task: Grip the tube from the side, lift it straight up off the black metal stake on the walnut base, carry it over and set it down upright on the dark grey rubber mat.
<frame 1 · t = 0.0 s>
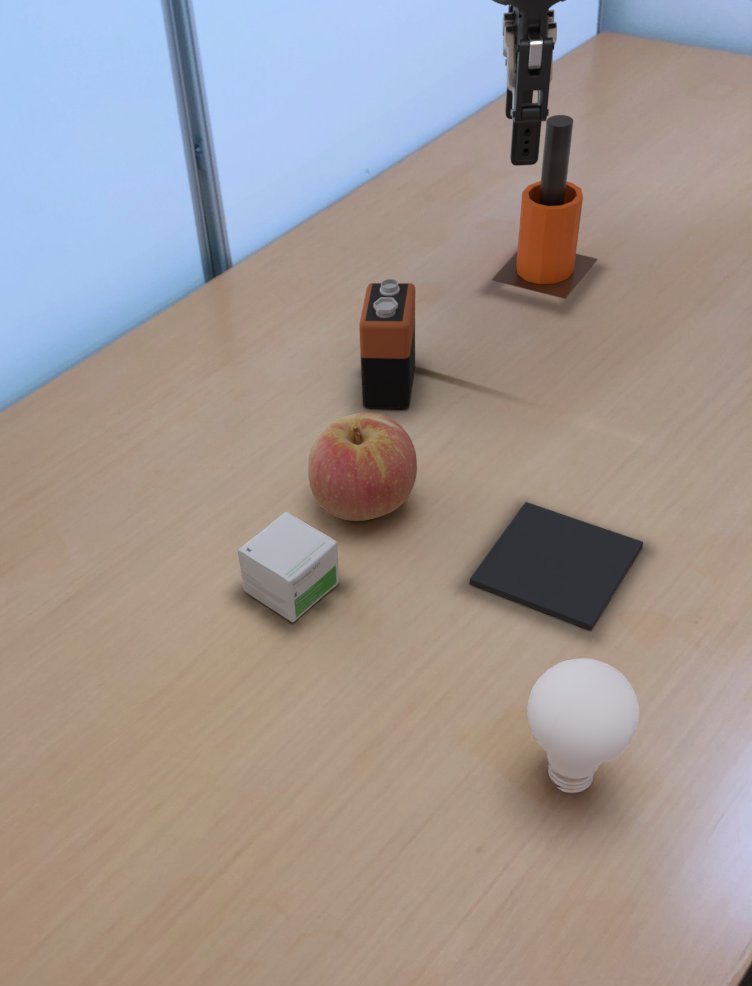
hand: (520, 139, 93), 19 cm above the table, tool pointing down, fingers open, 8 cm apart
tube: (544, 269, 112), point 1 cm above the table, touching stake
mat: (556, 565, 86), on the table
small box: (292, 589, 87), on the table
apple: (362, 506, 93), on the table
battery: (389, 389, 103), on the table
stake: (543, 278, 112), on the table
light bulb: (568, 782, 73), on the table
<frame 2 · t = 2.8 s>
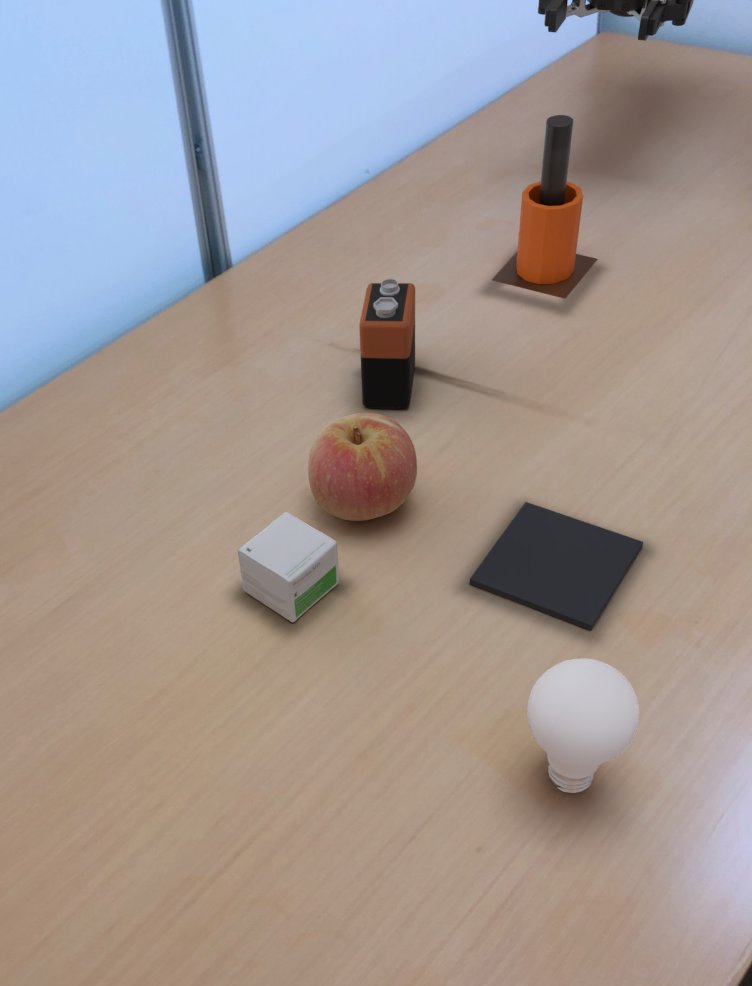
hand: (597, 25, 103), 20 cm above the table, tool horizontal, fingers open, 8 cm apart
nothing on the table moved.
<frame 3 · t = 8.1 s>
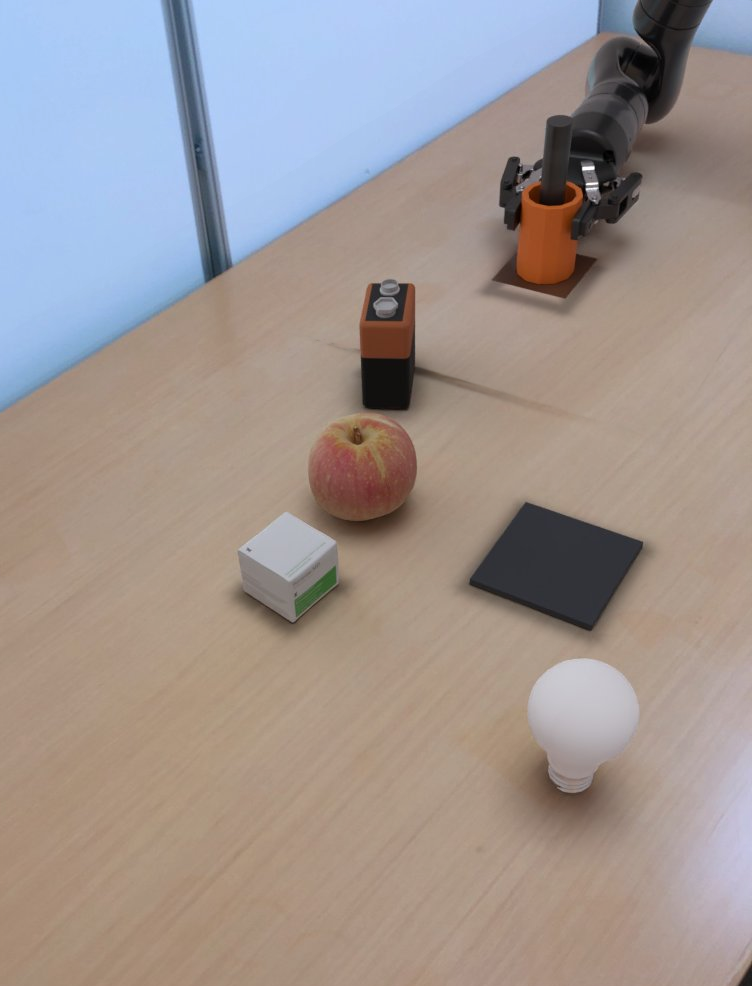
hand: (542, 226, 106), 7 cm above the table, tool horizontal, fingers closed on tube, 5 cm apart
tube: (544, 269, 112), point 1 cm above the table, touching gripper, stake
everything else where it was.
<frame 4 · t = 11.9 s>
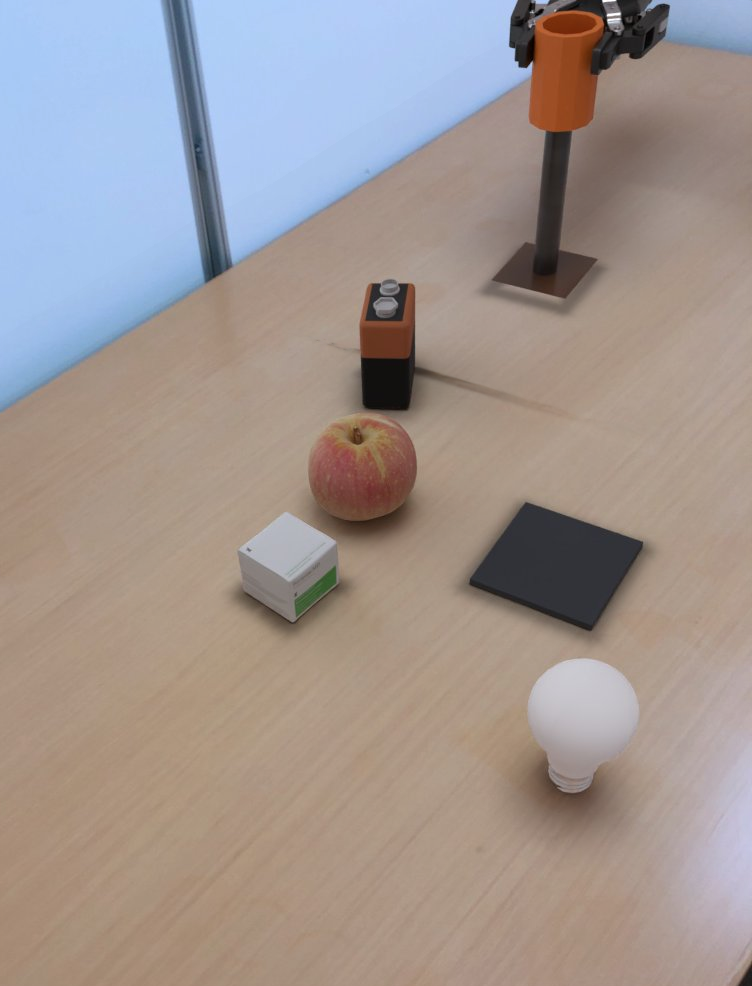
hand: (558, 59, 94), 22 cm above the table, tool horizontal, fingers closed on tube, 5 cm apart
tube: (560, 117, 100), point 16 cm above the table, touching gripper
everything else where it was.
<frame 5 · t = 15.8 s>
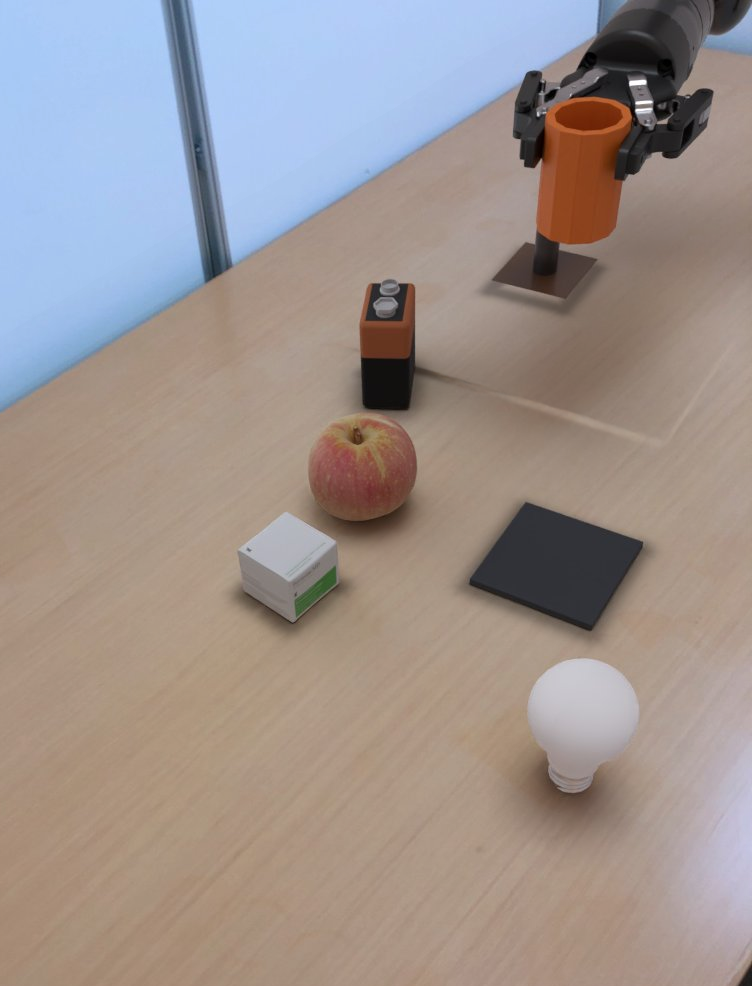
hand: (574, 160, 75), 26 cm above the table, tool horizontal, fingers closed on tube, 5 cm apart
tube: (575, 224, 81), point 20 cm above the table, touching gripper
everything else where it was.
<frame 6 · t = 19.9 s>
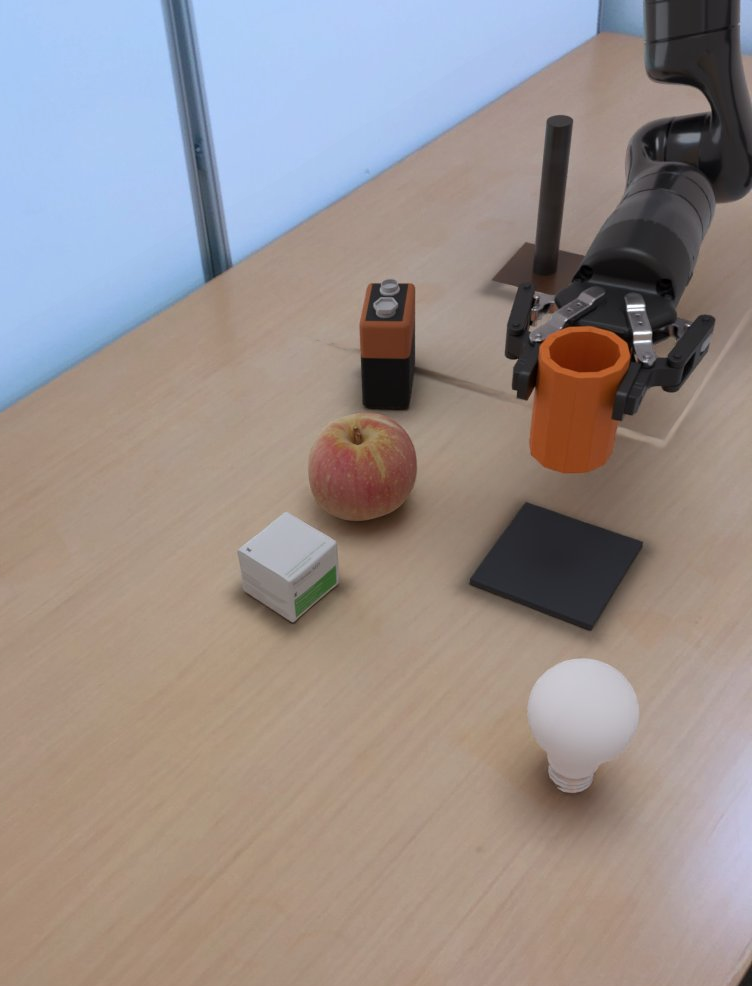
hand: (570, 398, 71), 18 cm above the table, tool horizontal, fingers closed on tube, 5 cm apart
tube: (570, 447, 77), point 12 cm above the table, touching gripper
everything else where it was.
when the fingers open (7 cm above the table, at t = 23.4 s): tube stays where it is, resting on mat.
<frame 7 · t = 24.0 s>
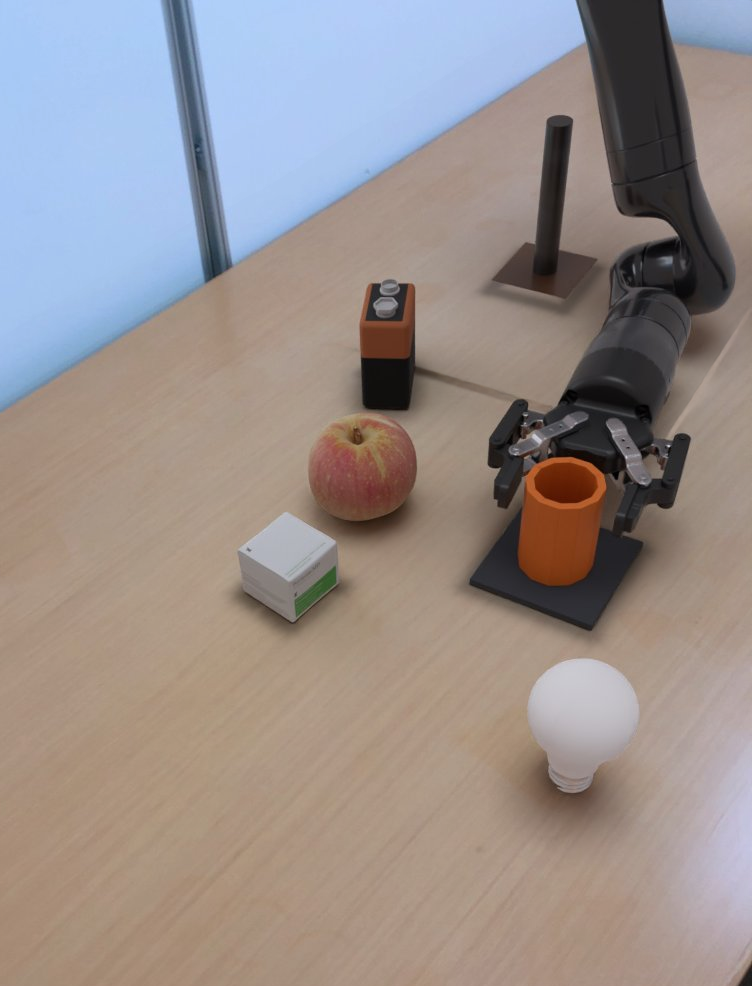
hand: (559, 514, 80), 7 cm above the table, tool horizontal, fingers open, 8 cm apart
tube: (554, 560, 86), point 1 cm above the table, touching mat
everything else where it was.
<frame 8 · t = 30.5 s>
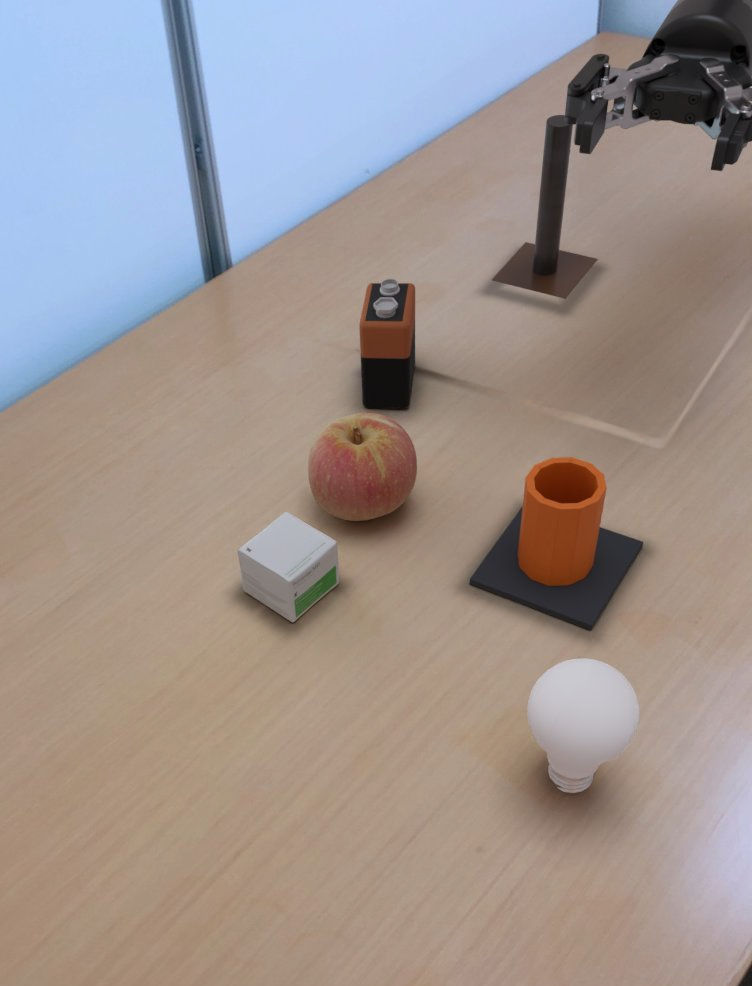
hand: (651, 148, 71), 28 cm above the table, tool horizontal, fingers open, 8 cm apart
nothing on the table moved.
at the end: tube inside the target area on the mat (0.1 cm from its centre), point 0.6 cm above the mat's base; tube tilted 0°; the gripper is holding nothing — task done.
